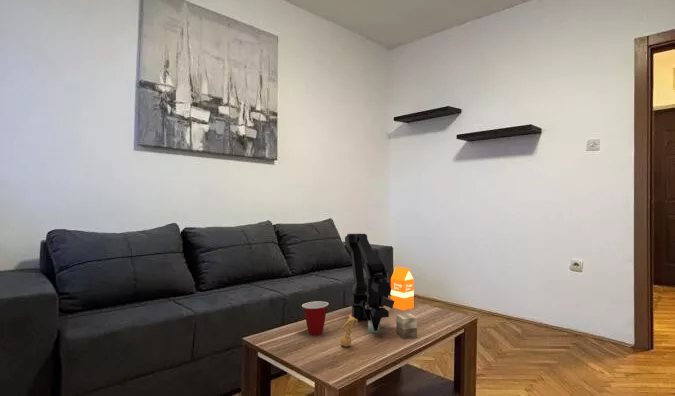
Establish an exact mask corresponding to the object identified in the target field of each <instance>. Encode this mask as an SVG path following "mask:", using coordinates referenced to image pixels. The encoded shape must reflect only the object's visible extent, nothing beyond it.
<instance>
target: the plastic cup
mask: <svg viewBox="0 0 675 396" xmlns="http://www.w3.org/2000/svg"><path fill="white" fill-rule="evenodd" d="M328 306H329V302H327V301H319V300H318V301H317V300H316V301H315V300H314V301H309V302H306V303H303V304H302V305H301V307H302V309H303V312H304V315H305V316H304V317H305V322H306V323H305V324H306V327H307V333H309V334H308V335H309V336H314V335H315V336H316V335H317V336H321V335H322V334H323V333H324V326H325V321H326V316H327V315H326V314H327V310H328Z"/></svg>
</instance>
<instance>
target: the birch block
mask: <svg viewBox="0 0 675 396" xmlns="http://www.w3.org/2000/svg"><path fill="white" fill-rule="evenodd" d="M395 318H396V319H395V321H396V326H397V325H398V326H399V327H401V328H402V329H412V328H417V329H418V317H416V316H415V315H413V314H412V313H410V312H409V313H400V314H399V313H398V314H396V317H395Z"/></svg>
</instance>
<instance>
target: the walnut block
mask: <svg viewBox="0 0 675 396" xmlns="http://www.w3.org/2000/svg"><path fill="white" fill-rule="evenodd" d="M395 331H396V333H395V334H396V335H397V336H398V337H400V338H401V339H402V340H408V339H417V338H418V327H417V328H412V329H402V328H401V327H399V326H398V325H396V330H395Z"/></svg>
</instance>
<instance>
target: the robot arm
mask: <svg viewBox="0 0 675 396" xmlns="http://www.w3.org/2000/svg"><path fill="white" fill-rule="evenodd" d="M344 243H345V245H346V249H347V250H348V251H349V252H350V257H351V264H352V265H351V266H352V274H353V281H354V284H353V286H352V289H351V295H350V296H349V298H348V299H349V300H348V304H349V306H350V307H351V316H352V317H353V318H355V319H357V320H358V321H357V322H368V321H369V320H371V322H372V325H373V328H374V330H375V331H377V329H378V326H379V327H380V323H381V320H382V318H389V317H390V311H389V310H388V309H386V308H385V307H387V308H389V309H393V308H394V307H393V305H394V302H395V301H394V300H392V299H391V297H389V295H391V283H389V282H388V281H387V279H388V272H387V268H386V267H385V263H384V262H383V260H382V259H381V257H379V256H378V255H376V254H375V252H374V250H373V248H372V246H371V244H370V242H369V240H368V234H366V233H347V235H346V236H344ZM362 257H363V258H362ZM363 259H364V264H363ZM364 274H366V276H365V275H364ZM365 278H366V280H365Z"/></svg>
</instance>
